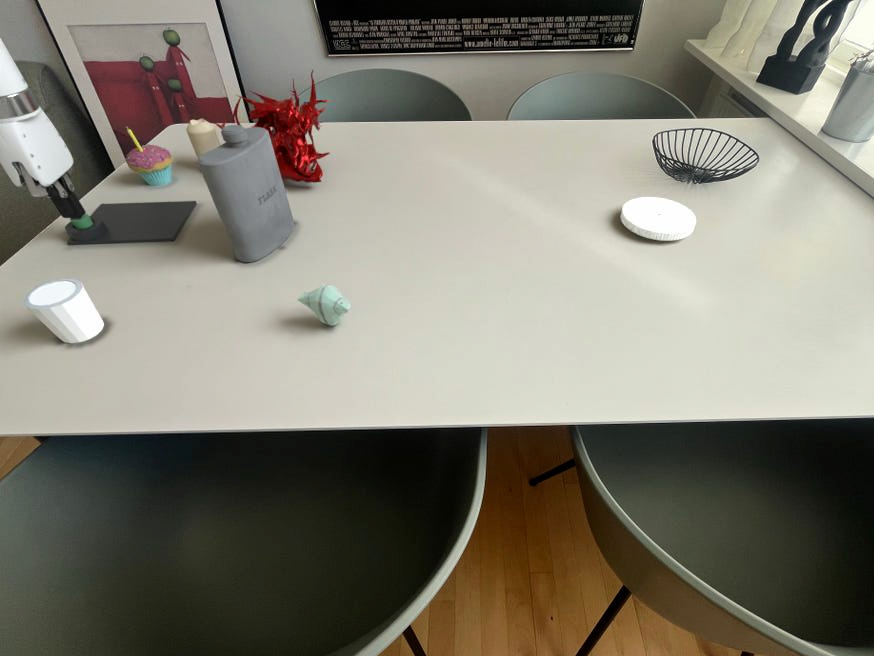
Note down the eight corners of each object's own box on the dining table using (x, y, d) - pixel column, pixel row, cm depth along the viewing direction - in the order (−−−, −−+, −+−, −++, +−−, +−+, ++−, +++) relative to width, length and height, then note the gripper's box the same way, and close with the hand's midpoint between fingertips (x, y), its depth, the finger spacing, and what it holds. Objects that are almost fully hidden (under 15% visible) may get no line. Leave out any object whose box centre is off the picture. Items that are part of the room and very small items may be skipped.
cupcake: (170, 190, 101) (143, 131, 92) (129, 189, 101) (98, 130, 92) (187, 171, 107) (162, 114, 98) (148, 171, 107) (120, 114, 98)
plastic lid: (664, 204, 101) (667, 192, 99) (707, 238, 92) (711, 226, 90) (606, 214, 98) (608, 202, 96) (644, 250, 89) (648, 238, 87)
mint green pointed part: (302, 327, 72) (290, 291, 67) (315, 310, 75) (305, 274, 70) (351, 337, 71) (343, 301, 66) (363, 319, 74) (355, 284, 69)
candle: (196, 170, 107) (177, 124, 100) (211, 160, 111) (194, 114, 104) (218, 173, 106) (200, 126, 99) (233, 163, 110) (216, 117, 103)
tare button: (72, 230, 86) (66, 221, 84) (80, 222, 88) (74, 213, 86) (89, 229, 86) (83, 220, 85) (96, 221, 88) (91, 212, 86)
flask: (260, 266, 83) (217, 149, 68) (230, 260, 84) (182, 144, 69) (303, 223, 93) (274, 113, 78) (276, 218, 94) (242, 109, 79)
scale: (66, 245, 86) (58, 233, 84) (101, 207, 96) (94, 195, 94) (174, 241, 87) (168, 229, 86) (197, 204, 97) (192, 192, 95)
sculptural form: (307, 152, 90) (363, 82, 99) (185, 96, 90) (253, 30, 99) (320, 220, 109) (367, 156, 118) (220, 174, 109) (274, 112, 118)
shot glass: (117, 314, 73) (91, 277, 68) (93, 346, 69) (64, 308, 64) (71, 315, 73) (42, 277, 68) (44, 346, 68) (10, 308, 63)
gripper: (7, 87, 77) (72, 196, 90) (-56, 122, 66) (28, 238, 79) (57, 88, 77) (115, 195, 91) (4, 122, 67) (77, 237, 80)
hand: (74, 215), depth 85 cm, fingers closed
